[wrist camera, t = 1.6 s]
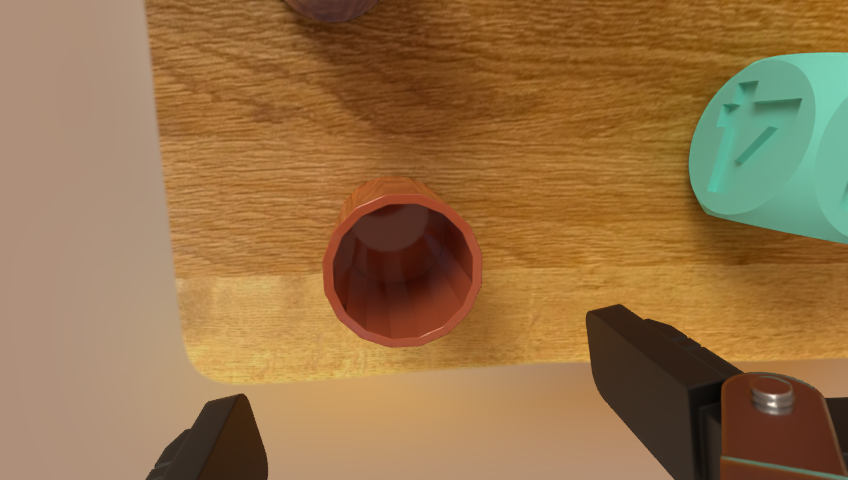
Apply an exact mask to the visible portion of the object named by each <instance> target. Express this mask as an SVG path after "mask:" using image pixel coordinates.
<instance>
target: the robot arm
mask: <svg viewBox="0 0 848 480" xmlns="http://www.w3.org/2000/svg"><path fill="white" fill-rule="evenodd" d="M586 328H587V336H588V344H589V351H590V359H591V366H592V374H593V378H594V381H595V384H596V386H597V389H598V391H599V393H600V394H601V396H602V397H603V399H604V400H605V401H606V402H607V403H608V405H609V406H610V407H611V408H612V409H613V410H614V411H615V412H616V414H617V415H618V416H619V417H620V418H621V419H622V420H623V422H624V423H625V424H626V425H627V426H628V427H629V428H630V430H631V431H632V432H633V433H634V434H635V435H636V436H637V438H638V439H639V440H640V441H641V442H642V443H643V444H644V445H645V447H646V448H647V449H648V450H649V451H650V452H651V453H652V455H654V457H655V458H656V459H657V460H658V461H659V463H660V464H661V465H662V466H663V467H664V468H665V469H666V470H667V472H668V473H669V474H670V475H671V476H672V477H673V478H674V480H848V397H844V398H843V397H842V398H824V396H823V395H822V394H821V393H820V392H819V391H818V390H817V389H815V388H814V387H813V386H811V385H809V384H807V383H805V382H803V381H801V380H798V379H796V378H793V377H789V376H786V375H781V374H776V373H767V372H749V373H744V372H742V371H741V370H739V369H738V368H736V367H734V366H733V365H731V364H730V363H728V362H727V361H725V360H724V359H722V358H720V357H719V356H717V355H716V354H714V353H713V352H711V351H710V350H708V349H706V348H705V347H701V345H700V344H699V343H697V342H696V341H694V340H692V339H691V338H687V336H686V335H685V334H683V333H682V332H680V331H678V330H677V329H675V328H674V327H672V326H671V325H667V324H664V323H661V322H658V321H654V320H651V319H644V320H643V319H642V318H640V317H639V316H637V315H636V314H634V313H633V312H631V311H630V310H628V309H627V308H626V307H624V306H623V305H621V304H617V305H613V306H608V307H604V308H600V309H596V310H592V311H588V312H587V314H586ZM267 478H268V463H267V456H266V452H265V449H264V445H263V443H262V439H261V436H260V433H259V430H258V428H257V424H256V421H255V418H254V415H253V412H252V409H251V406H250V403H249V400H248V399H247V397H246V396H245V395H244V394H237V395H234V396H229V397H225V398H221V399H216V400H212V401H209V402H207V403H206V404H205V406H204V408H203V409H202V411H201V413H200V414H199V416H198V418H197V419H196V421H195V423H194V424H193V426H192V428H191V429H187V430H185V431H184V432H183V433H181V434H180V435H179V436H178V437H177V438H176V439H175V440H174V441H173V442H172V443H170V444H169V445H168V446H167V447H166V448H165V450H164V451H163V453H162V455H161V456H160V458H159V460H158V461H157V463H156V464H155V469H153V470H151V472H150V474H149V475H148V477H147V478H146V480H267Z"/></svg>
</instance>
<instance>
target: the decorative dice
mask: <svg viewBox="0 0 848 480" xmlns="http://www.w3.org/2000/svg"><path fill="white" fill-rule="evenodd" d="M689 176H690V181H691V185H692V188H693V190H694V193H695V196H696V198H697V200H698V202H699V204H700V206H701V207H702V209H703V210H704V212H705V213H706V214H708V215H711V216H715V217H719V218H723V219H727V220H731V221H735V222H740V223H744V224H749V225H753V226H758V227H763V228H767V229H772V230H777V231H782V232H787V233H792V234H797V235H802V236H807V237H812V238H817V239H822V240H828V241H833V242H839V243H844V244H848V53H802V54H790V55H781V56H774V57H769V58H765V59H761V60H758V61H755V62H753V63H752V64H750V65H749V66H747V67H746V68H745V69H743V70H742V71H740V72H739V73H738V74H736V75H735V76H734V77H732V78H731V79H730V80H729V81H728V82H727V83H725V84H724V85H723V86H722V87H721V89H720V90H719V91H718V92H717V93H716V94H715V96H714V97H713V98H712V100H711V101H710V102H709V104H708V106H707V107H706V109H705V110H704V112H703V114H702V116H701V118H700V120H699V122H698V124H697V127H696V130H695V132H694V135H693V139H692V143H691V147H690V153H689Z"/></svg>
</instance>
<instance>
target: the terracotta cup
mask: <svg viewBox="0 0 848 480" xmlns="http://www.w3.org/2000/svg"><path fill="white" fill-rule="evenodd" d="M322 264H323V281H324V292H325V295H326V297H327V298H328V300H329V302H330V304H331V306H332V308H333V310H334V312H335V314H336V316H337V318H338V319H339V320H340V321H341V322H342V323H343V324H345V325H346V326H347V327H348V328H350V329H351V330H352V331H353V332H354V333H356V334H357V335H358V336H359V337H360V338H362V339H365V340H368V341H371V342H374V343H377V344H381V345H384V346H387V347H391V348H392V347H409V346H420V345H424V344H426V343H428V342H430V341H433V340H435V339H437V338H439V337H442V336H444V335H446V334H448V333H449V332H450V331H451V330H452V329H453V328H454V327H455V326H456V325H457V324H458V323H459V322H460V321H461V320H462V319H463V318H464V317H465V316H466V315H467V314H468V313H469V312H470V310H471V308H472V306H473V304H474V301H475V299H476V297H477V294H478V292H479V290H480V287H481V284H482V253H481V250H480V248H479V245H478V243H477V241H476V238H475V236H474V233H473V231H472V228H471V227H470V225H469V224H468V223H466V222H465V221H464V220H463V219H462V218H461V217H460V216H459V215H458V214H457V213H456V212H455V211H454V210H453V209H452V208H451V207H450V206H449V205H448V204H447V203H446V202H445V201H444V200H442V199H441V198H440V197H439V196H438V195H437V194H436V193H435V192H434V191H433V190H432V189H430V188H429V187H428V186H427V185H426V184H423V183H421V182H419V181H417V180H414V179H411V178H408V177H404V176H383V177H379V178H376V179H373V180H370V181H368V182H366V183H364V184H363V185H361V186H360V187H358V188H357V189H356V190H355V191H354V192H353V193H351V195H350V196H349V197H348V198H347V199H346V201H345V202H344V203H343V205H342V207H341V210H340V213H339V215H338V218H337V221H336V223H335V226H334V229H333V232H332V235H331V238H330V241H329V243H328V246H327V249H326V252H325V255H324V258H323V262H322Z"/></svg>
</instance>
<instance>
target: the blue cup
mask: <svg viewBox="0 0 848 480" xmlns="http://www.w3.org/2000/svg"><path fill="white" fill-rule="evenodd" d="M284 1H285V2H286V3H287V4H288V5H289V6H291V7H292V8H293V9H294V10H296V11H297V12H299V13H301V14H302V15H304V16H306V17H309V18H311V19H314V20H318V21H322V22H331V23H334V22H344V21H349V20H352V19H354V18H357V17H359V16H361V15H363V14H365V13H366V12H367V11H369V10H370V9H371V8H372V7H373V6H374V5H375V4H377V2H378V1H379V0H284Z"/></svg>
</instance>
